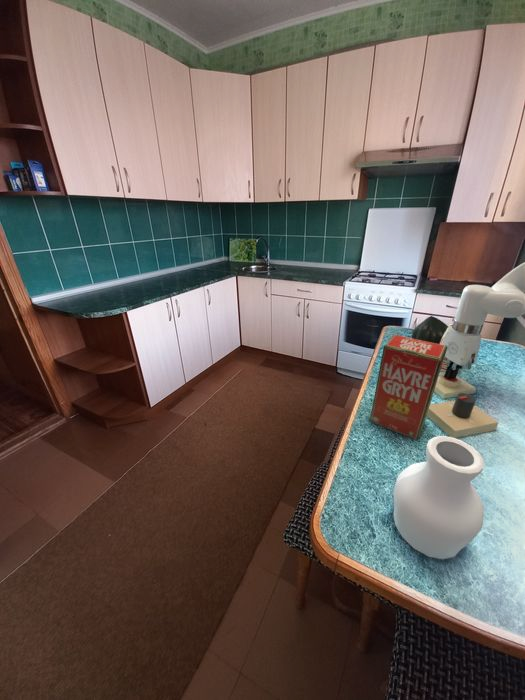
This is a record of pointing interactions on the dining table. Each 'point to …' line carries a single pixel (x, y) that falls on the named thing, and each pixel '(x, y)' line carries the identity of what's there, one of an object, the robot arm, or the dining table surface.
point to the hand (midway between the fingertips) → (449, 377)
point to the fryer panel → (460, 420)
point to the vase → (440, 499)
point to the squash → (430, 330)
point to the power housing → (452, 387)
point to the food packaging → (406, 384)
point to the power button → (451, 379)
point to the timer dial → (463, 405)
